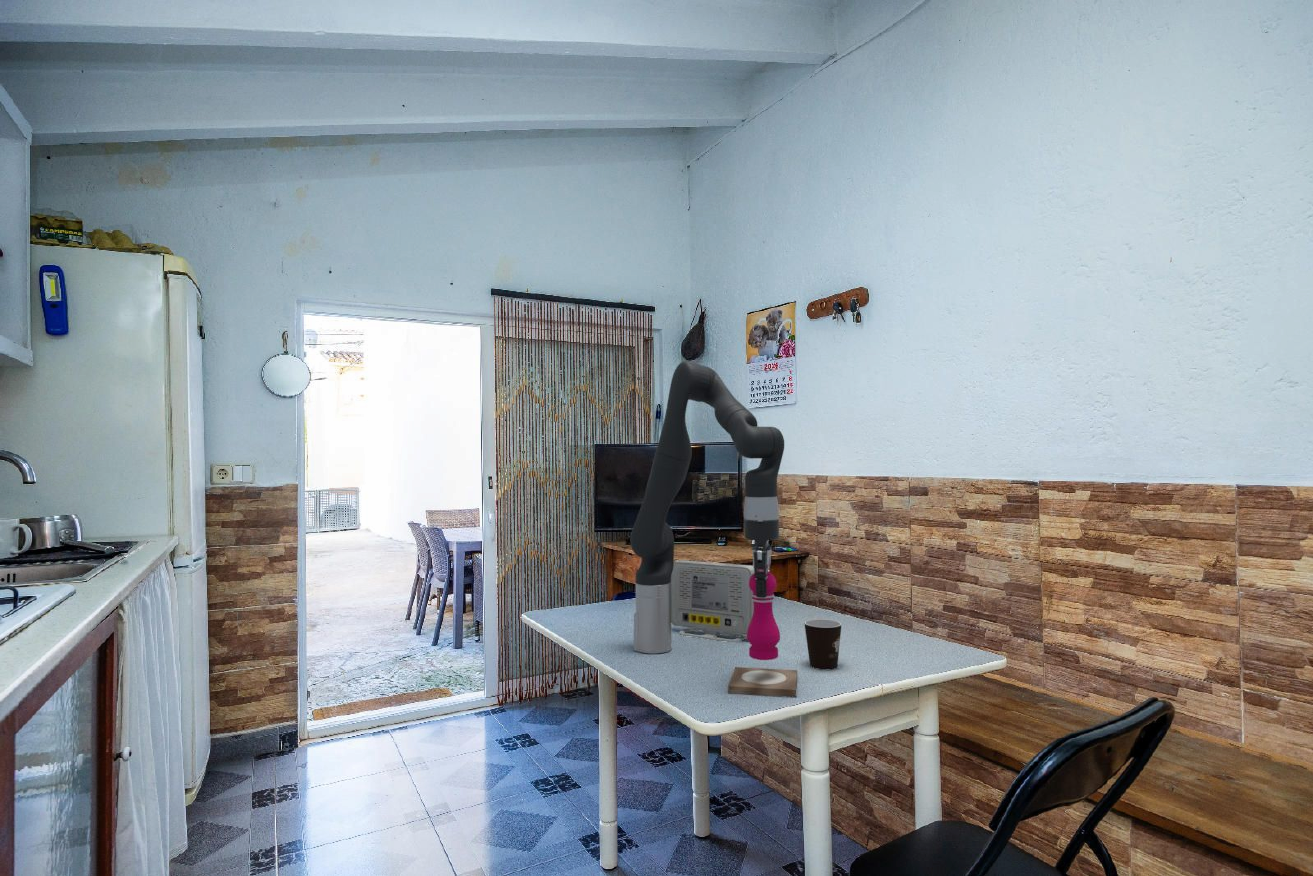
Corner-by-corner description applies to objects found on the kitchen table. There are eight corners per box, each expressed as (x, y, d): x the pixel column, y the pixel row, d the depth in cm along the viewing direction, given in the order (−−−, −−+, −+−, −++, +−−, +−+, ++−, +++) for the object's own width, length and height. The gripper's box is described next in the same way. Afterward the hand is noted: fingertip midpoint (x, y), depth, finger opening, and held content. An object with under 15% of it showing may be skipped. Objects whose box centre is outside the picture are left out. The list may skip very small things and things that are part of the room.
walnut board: (728, 693, 151) (728, 685, 151) (735, 673, 164) (735, 666, 164) (795, 697, 148) (795, 689, 148) (797, 677, 161) (797, 669, 161)
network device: (761, 638, 197) (760, 565, 197) (747, 645, 189) (746, 569, 190) (681, 627, 210) (680, 558, 211) (665, 633, 203) (664, 562, 204)
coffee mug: (821, 673, 164) (820, 629, 164) (797, 663, 172) (796, 621, 172) (859, 665, 169) (859, 623, 170) (835, 657, 177) (834, 616, 177)
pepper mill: (772, 662, 151) (771, 567, 152) (741, 658, 155) (740, 565, 156) (785, 654, 158) (784, 563, 158) (755, 650, 161) (754, 561, 162)
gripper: (747, 514, 165) (748, 588, 165) (741, 520, 151) (742, 600, 151) (780, 514, 163) (781, 589, 163) (777, 520, 149) (778, 601, 149)
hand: (762, 594), depth 157 cm, fingers closed on pepper mill, 6 cm apart
